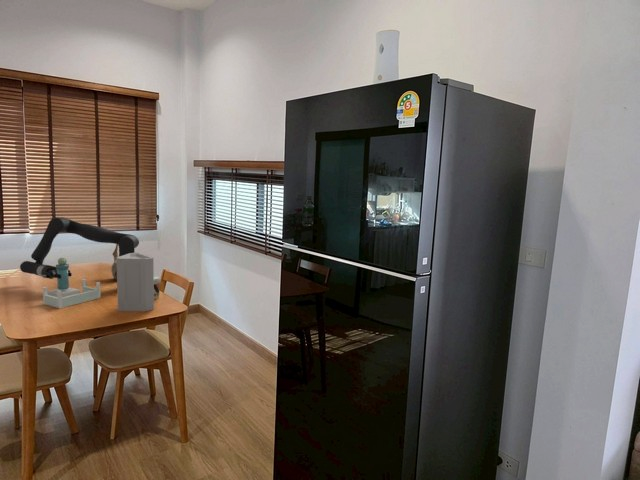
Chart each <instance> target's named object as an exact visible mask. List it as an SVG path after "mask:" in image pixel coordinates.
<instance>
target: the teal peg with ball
mask: <svg viewBox="0 0 640 480" xmlns="http://www.w3.org/2000/svg"><path fill="white" fill-rule="evenodd" d="M55 267H56V268H57V274H60V275H61V278H60V279H59V278H56V281H57V289H58V290H65V289H69V287H70V279H69V277H70V276H69V275H68V270H69V268H70V264H69V263H68V260H67V259H66V258H65V257H60V258H58V260H57V264H55Z"/></svg>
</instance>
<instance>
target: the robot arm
mask: <svg viewBox="0 0 640 480" xmlns="http://www.w3.org/2000/svg"><path fill="white" fill-rule="evenodd" d="M60 233H68V234H74V235H77V236H80V237H81V238H83V239H86V240H88V241H92V242H96V243H104V244H115V245H116V244H119V246H118V257H119V256H123V255H126V254H129V253H136V252H135V249H136V248H137V247H138V246H139V245H140V240H139V238H138V237H137V236H136V235H133V234H130V233H129V234H128V233H123V232H122V233H121V232H117V231H114V230H111V229H108V228H103V227H101V226H96V225H92V224H87V223H82V222H77V221H75V220H71V219H70V218H67V217H60V216H57V217H53V218H51V219H50V220H49V222H48V224H47V227H46V229H45V231H44V233H43V235H42V237H41V240H40V241H39V242H38V244H37V246H36V247H35V249H34V250H33V252H32V254H31V257H30V258H31V259H32V260H33V261H35V262H33V261H28V260H26V261H22V262H21V263H20V265H19V269H20V271H21V272H22V273H26V274H31V275H35V276H39V277H42V278H44V279H49V280H53V279H57V278H59V279H60V278H61V275H60V274H57V268H56V265H54V266H53V265H49V264H44V262H45V259H46V257H47V256H48V254H49V253H50V251H51V248H52V245H53V242H54V239H55V238H56V237H57V236H58V234H60ZM72 274H73V273H72V272H71V270H70V269H68V275H69V277H72Z"/></svg>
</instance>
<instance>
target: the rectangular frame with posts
mask: <svg viewBox="0 0 640 480" xmlns="http://www.w3.org/2000/svg"><path fill="white" fill-rule="evenodd" d="M47 291H48V287H47V286H44V287H42V302H43V303H42V304H43V305H46V306H49V307H54V308H57V309H63V308H67V307H69V306H74V305H78V304H82V303H85V302H90V301H92V300H97V299H101V282H100V281H99V282H98V281H97V282H95V287H92V286H91V287H90V286H87V278H83V279H81V292H80V293H79V294H75V295H71V296H67V297H62V291H57V297H54V296H50V295H48V294H47Z"/></svg>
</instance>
